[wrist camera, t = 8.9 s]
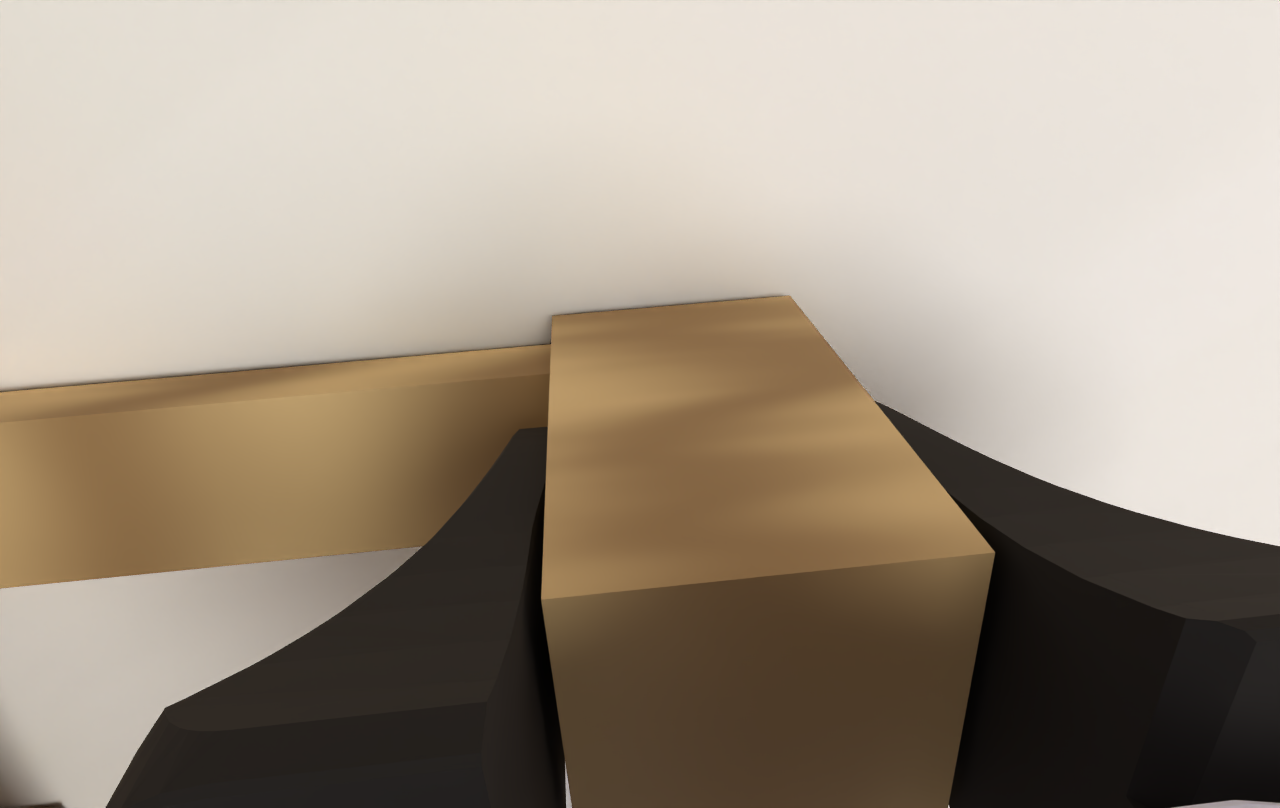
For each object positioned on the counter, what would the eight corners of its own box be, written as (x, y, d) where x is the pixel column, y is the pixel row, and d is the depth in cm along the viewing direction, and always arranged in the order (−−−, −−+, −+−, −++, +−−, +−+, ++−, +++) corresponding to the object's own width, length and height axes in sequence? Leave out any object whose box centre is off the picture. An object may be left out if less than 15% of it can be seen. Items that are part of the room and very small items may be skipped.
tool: (789, 295, 13) (995, 552, 7) (783, 494, 15) (941, 840, 9) (-277, 386, 12) (-1150, 775, 6) (-145, 585, 14) (-712, 1044, 8)
